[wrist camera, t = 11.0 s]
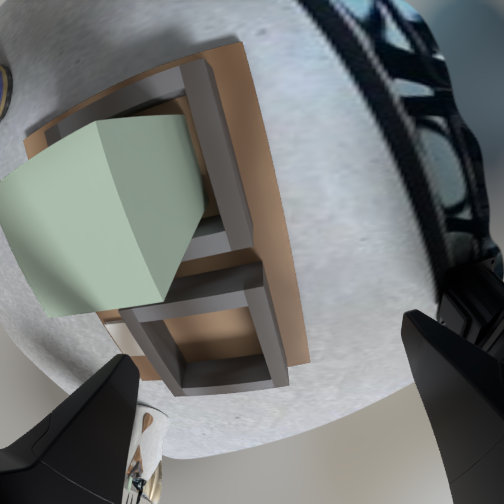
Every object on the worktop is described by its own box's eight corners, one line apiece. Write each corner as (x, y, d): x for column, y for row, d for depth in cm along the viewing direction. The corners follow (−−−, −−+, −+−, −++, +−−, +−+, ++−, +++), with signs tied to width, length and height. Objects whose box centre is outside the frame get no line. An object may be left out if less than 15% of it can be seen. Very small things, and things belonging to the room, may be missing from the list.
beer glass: (118, 412, 31) (91, 502, 18) (132, 396, 29) (101, 503, 15) (161, 432, 33) (144, 521, 20) (182, 418, 30) (165, 523, 17)
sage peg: (184, 114, 15) (95, 121, 6) (209, 200, 17) (163, 301, 8) (106, 144, 15) (-12, 190, 6) (132, 221, 18) (48, 317, 9)
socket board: (242, 44, 13) (239, 26, 10) (309, 356, 24) (315, 388, 21) (29, 138, 15) (-4, 148, 12) (144, 374, 26) (135, 403, 23)
